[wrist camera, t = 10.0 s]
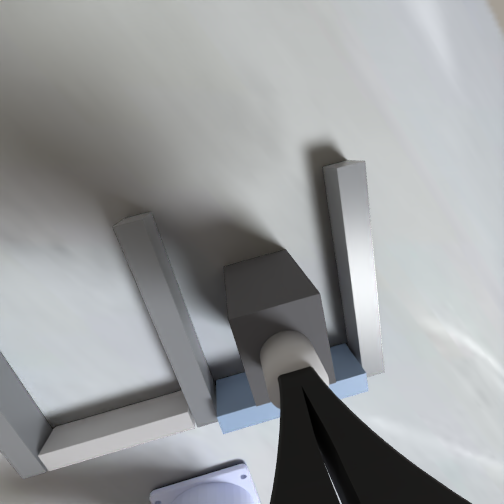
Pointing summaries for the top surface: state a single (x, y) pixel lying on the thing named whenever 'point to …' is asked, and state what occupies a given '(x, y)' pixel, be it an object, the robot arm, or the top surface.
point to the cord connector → (276, 323)
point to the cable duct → (190, 352)
